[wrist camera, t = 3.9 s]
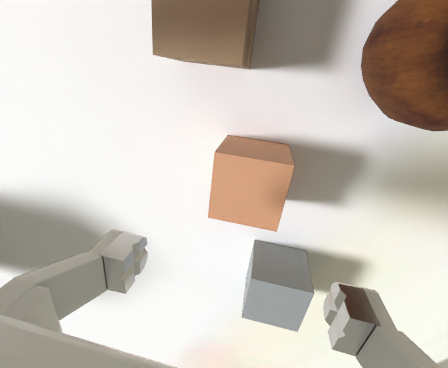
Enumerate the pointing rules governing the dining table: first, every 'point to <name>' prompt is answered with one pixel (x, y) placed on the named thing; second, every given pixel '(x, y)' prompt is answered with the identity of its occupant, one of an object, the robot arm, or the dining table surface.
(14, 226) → the dining table surface
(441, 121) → the wooden figurine
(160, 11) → the walnut block
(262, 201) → the terracotta block
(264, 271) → the slate grey block
